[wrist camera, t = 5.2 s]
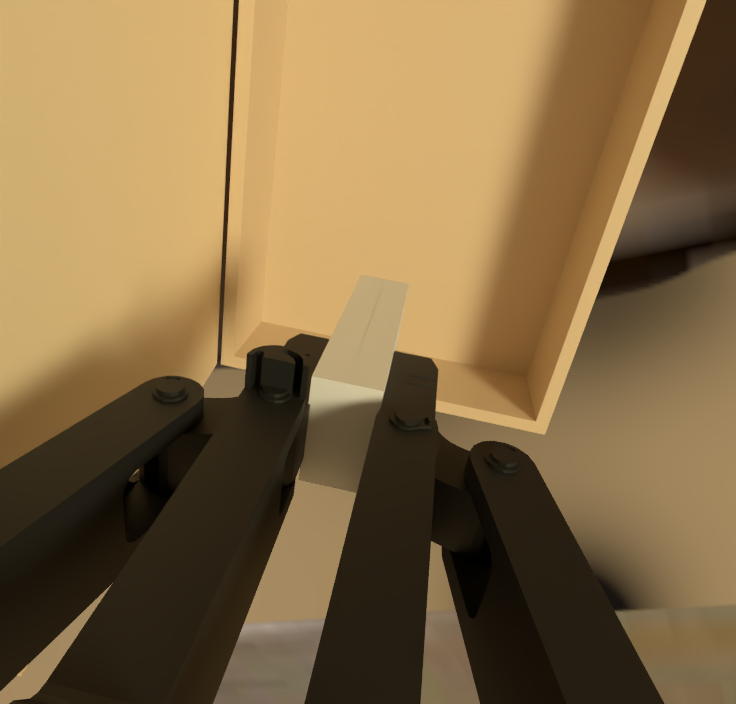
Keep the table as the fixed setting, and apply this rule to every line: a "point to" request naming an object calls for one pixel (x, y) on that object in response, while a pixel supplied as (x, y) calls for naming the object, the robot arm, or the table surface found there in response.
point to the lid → (107, 203)
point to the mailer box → (443, 176)
